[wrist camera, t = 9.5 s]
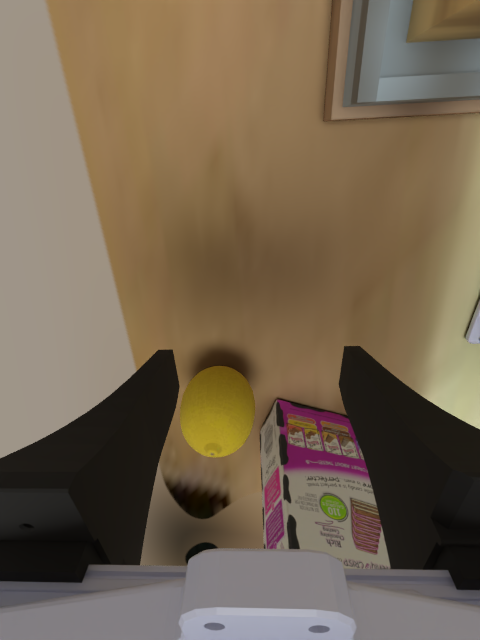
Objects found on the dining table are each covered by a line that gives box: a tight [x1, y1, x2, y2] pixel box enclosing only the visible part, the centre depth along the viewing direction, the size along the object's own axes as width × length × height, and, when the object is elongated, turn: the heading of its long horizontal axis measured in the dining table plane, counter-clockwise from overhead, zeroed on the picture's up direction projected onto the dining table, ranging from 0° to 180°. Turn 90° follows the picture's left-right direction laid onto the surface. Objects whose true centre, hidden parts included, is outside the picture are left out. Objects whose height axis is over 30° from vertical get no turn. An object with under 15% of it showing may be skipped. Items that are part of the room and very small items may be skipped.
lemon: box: [180, 366, 255, 457], centre depth 24 cm, size 6×6×8 cm
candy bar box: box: [260, 399, 391, 569], centre depth 23 cm, size 11×5×16 cm, turn 73°
